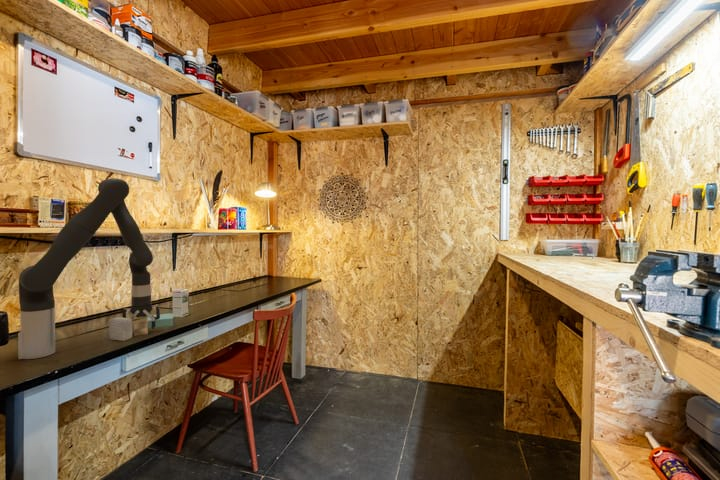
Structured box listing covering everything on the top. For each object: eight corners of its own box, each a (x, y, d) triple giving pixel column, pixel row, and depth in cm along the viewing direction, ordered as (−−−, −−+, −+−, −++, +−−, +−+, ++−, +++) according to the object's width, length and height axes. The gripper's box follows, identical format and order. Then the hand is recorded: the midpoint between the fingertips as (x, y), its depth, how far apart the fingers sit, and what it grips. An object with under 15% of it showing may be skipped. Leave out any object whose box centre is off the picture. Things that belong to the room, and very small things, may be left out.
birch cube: (134, 335, 148) (134, 324, 148) (135, 332, 152) (135, 321, 152) (147, 334, 150) (147, 323, 150) (148, 331, 155) (148, 320, 155)
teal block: (146, 329, 159) (146, 320, 159) (148, 323, 168) (148, 315, 168) (173, 326, 164) (173, 318, 164) (173, 320, 174) (173, 313, 174)
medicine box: (132, 338, 145) (132, 318, 144) (122, 341, 140) (122, 321, 140) (118, 336, 147) (118, 316, 147) (108, 339, 143) (108, 319, 142)
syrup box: (182, 317, 179) (182, 290, 178) (172, 316, 180) (172, 290, 179) (189, 314, 184) (189, 288, 184) (179, 314, 185) (179, 288, 185)
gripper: (120, 297, 144) (121, 334, 145) (159, 294, 151) (159, 330, 152) (123, 294, 151) (123, 329, 151) (160, 291, 158) (160, 325, 158)
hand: (141, 329), depth 151 cm, fingers open, 8 cm apart
